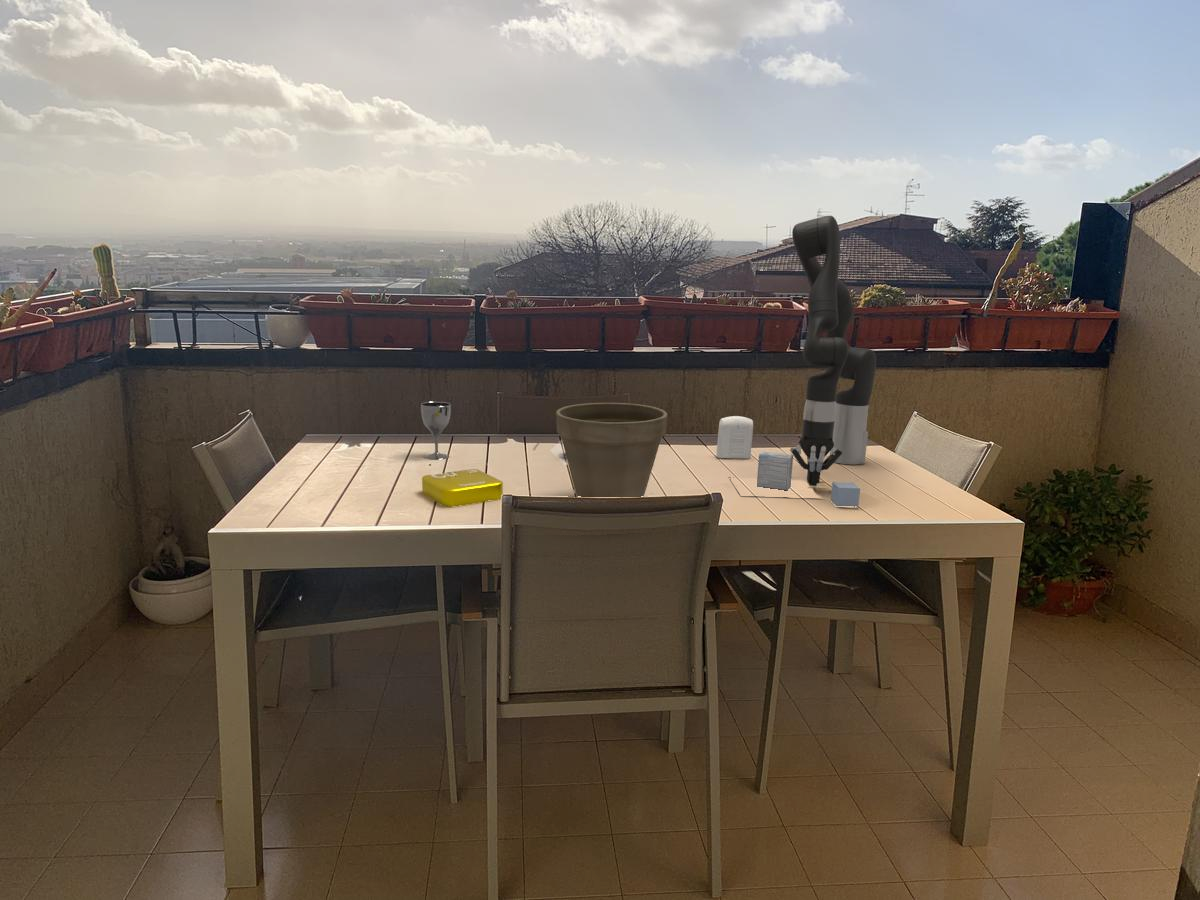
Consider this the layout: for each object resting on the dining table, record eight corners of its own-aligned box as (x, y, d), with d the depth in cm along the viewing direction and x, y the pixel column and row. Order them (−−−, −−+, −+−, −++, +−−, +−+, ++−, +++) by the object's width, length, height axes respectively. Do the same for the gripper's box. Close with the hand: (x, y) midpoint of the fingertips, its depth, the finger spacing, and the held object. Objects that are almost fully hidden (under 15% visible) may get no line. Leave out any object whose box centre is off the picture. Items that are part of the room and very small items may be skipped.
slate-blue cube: (851, 502, 186) (853, 482, 185) (857, 508, 181) (860, 488, 180) (830, 501, 186) (832, 481, 185) (836, 508, 181) (838, 487, 180)
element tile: (446, 510, 171) (445, 489, 170) (419, 493, 183) (418, 473, 182) (506, 500, 179) (506, 480, 178) (476, 484, 191) (476, 466, 190)
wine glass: (416, 458, 214) (415, 404, 211) (432, 452, 221) (431, 400, 218) (440, 461, 211) (439, 407, 208) (456, 455, 218) (456, 403, 215)
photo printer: (748, 456, 230) (751, 415, 227) (752, 459, 226) (756, 417, 223) (714, 456, 228) (717, 414, 226) (718, 459, 224) (721, 417, 221)
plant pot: (544, 515, 168) (545, 417, 163) (564, 485, 192) (566, 399, 187) (658, 523, 165) (664, 424, 160) (665, 492, 189) (670, 404, 184)
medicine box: (791, 487, 196) (793, 454, 194) (787, 491, 192) (790, 457, 190) (760, 483, 199) (762, 450, 197) (756, 487, 195) (758, 454, 193)
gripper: (841, 416, 195) (834, 482, 199) (788, 414, 195) (783, 480, 199) (850, 421, 188) (843, 490, 192) (796, 420, 188) (790, 488, 192)
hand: (812, 485), depth 195 cm, fingers closed
